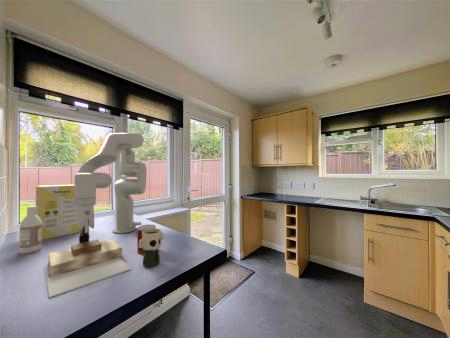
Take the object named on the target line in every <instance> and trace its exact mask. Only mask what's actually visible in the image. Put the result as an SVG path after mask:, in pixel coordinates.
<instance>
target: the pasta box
mask: <svg viewBox="0 0 450 338" xmlns="http://www.w3.org/2000/svg"><path fill="white" fill-rule="evenodd" d="M35 206H36V214H37V215H38V216H39V218H40V219H41V221H42V240H47V239H50V238H51V239H52V238H57V237H60V236H61V237H62V236H67V235H71V234H77V233H80V229H79V228H78V226H77V207H76V206H74V184H55V185H54V184H53V185H51V184H49V185H46V184H45V185H36V186H35Z"/></svg>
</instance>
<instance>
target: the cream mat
mask: <svg viewBox="0 0 450 338" xmlns="http://www.w3.org/2000/svg"><path fill="white" fill-rule="evenodd" d="M131 270H132V268H131V267H130V266H129V265H128V264H127V263H126V262H125V260H123V258H122V257H119V258H115V259H112V260H109V261H105V262H102V263H98V264H95V265H91V266H88V267H85V268H81V269H78V270H74V271H71V272H67V273H64V274H61V275H57V276H54V277H51V276H50V277H47V278H46V284H47V292H48V293H49V294H48V299H51V298H54V297H57V296H59V295H63V294H66V293H68V292H72V291H75V290H77V289H79V288H83V287H85V286H89V285H92V284H94V283H96V282H99V281H103V280H106V279H108V278H111V277H114V276H117V275H120V274H123V273H125V272H129V271H131ZM65 292H66V293H65ZM53 296H54V297H53Z"/></svg>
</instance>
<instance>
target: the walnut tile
mask: <svg viewBox="0 0 450 338" xmlns="http://www.w3.org/2000/svg"><path fill="white" fill-rule="evenodd" d="M100 242H101V241H100V240H99V239H98V238H97V239H93V240H89V241H87V242H82V243H79V242H78V243H73V244H71V246H70V247H71V252H72V254H73V256H77V255H82V254H86V253H90V252H94V251H98V250H101V245H102V244H101V243H100Z"/></svg>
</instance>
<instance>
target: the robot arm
mask: <svg viewBox="0 0 450 338" xmlns="http://www.w3.org/2000/svg"><path fill="white" fill-rule="evenodd" d="M144 142H145V141H144V137H143V135H142V134H141V133H139V132H114V133H113V132H112V133H108V135H107V136H106V138H105V140H104V141H103V143H102V146H101V148H100V150H99V152H98V153H97V154H95V155H94V156H92V157H90V158H89V159H87V160H86V161H85V162H84V163H83V164H82V165H81V166H80V168H79V169H78V172H77V173H76V174H75V175H74V184H73V185H74V206H76V207H77V226H78V228H79V229H80V232H79V237H78V243H82V242H87V241H90V229H92V230H93V229H94V228H95V207H94V206H95V205H96V204H97V190H99V189H100V190H101V189H106V188H109V187H110V186H111V185H112V182H113V179H112V178H113V177H111V175H110V174H108V173H106V172H95V171H97V170H98V169H100V168H102V167H105V166H108V165H110V164H114V163H115V162H117V160H118V157H119V166H118V173H119V175H120V176H121V177H123V178H122V179H119V180H116V182H115V183H114V192H115V227H114V228H113V229H112V233H113V234H127V233H132V232H134V231H135V230H137V227H136V226H142V222H141V221H134V199H133V197H132V196H133V195H136V196H137V195H143V194H144V193H145V192H146V189H147V177H148V176H147V173H148V169H147V165H146V164H145V163H144V162H142V161H136V154H135V152H134V150H133V149H138V148H141V147H142V146H143V145H144ZM127 178H128V179H127ZM135 178H136V179H135Z"/></svg>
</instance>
